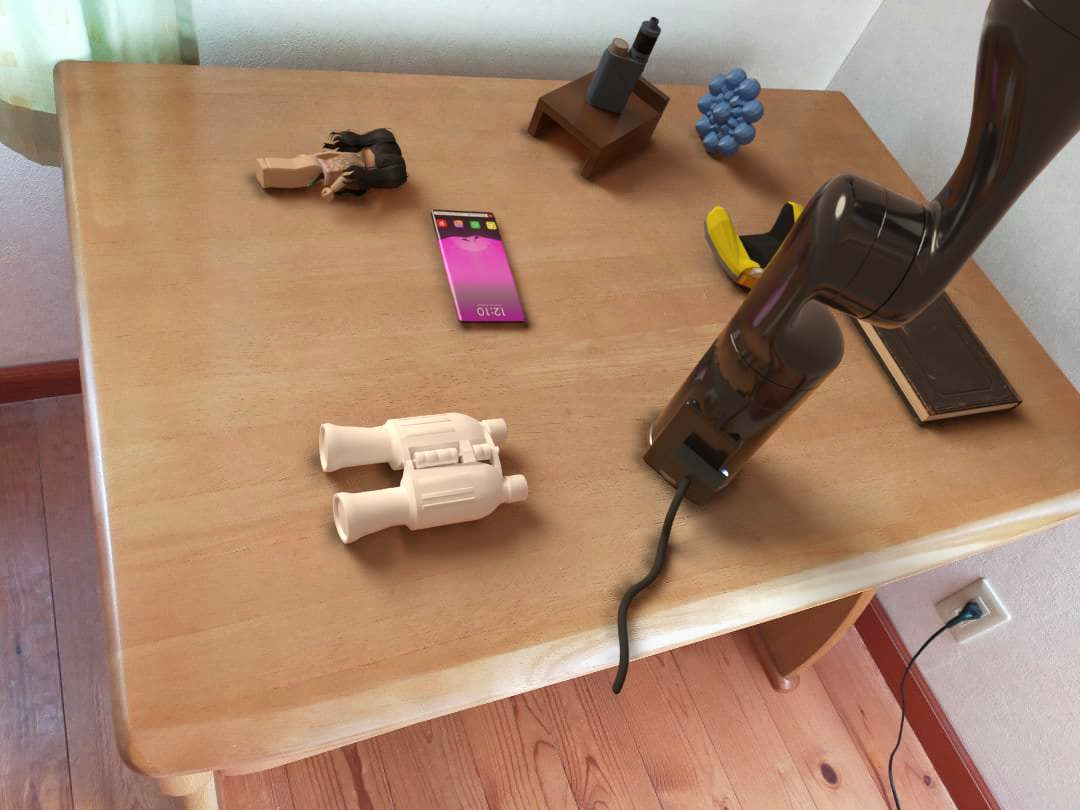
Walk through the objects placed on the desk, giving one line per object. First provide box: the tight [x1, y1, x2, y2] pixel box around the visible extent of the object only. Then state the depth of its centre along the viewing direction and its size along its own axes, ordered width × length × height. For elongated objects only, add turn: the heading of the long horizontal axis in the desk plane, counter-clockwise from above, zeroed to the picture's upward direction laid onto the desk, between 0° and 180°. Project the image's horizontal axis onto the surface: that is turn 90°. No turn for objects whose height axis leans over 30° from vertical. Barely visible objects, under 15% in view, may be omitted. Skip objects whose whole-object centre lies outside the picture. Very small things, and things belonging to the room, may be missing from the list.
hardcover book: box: [849, 289, 1024, 426], centre depth 108 cm, size 16×23×2 cm
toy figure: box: [255, 127, 410, 202], centre depth 90 cm, size 7×6×15 cm
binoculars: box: [318, 412, 529, 545], centre depth 73 cm, size 10×16×5 cm, turn 110°
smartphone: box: [430, 209, 527, 324], centre depth 91 cm, size 7×15×1 cm, turn 16°
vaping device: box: [587, 16, 662, 114], centre depth 103 cm, size 3×5×12 cm, turn 90°
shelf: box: [526, 69, 671, 181], centre depth 109 cm, size 14×10×7 cm
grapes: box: [694, 67, 765, 158], centre depth 114 cm, size 12×7×12 cm, turn 20°
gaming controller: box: [703, 201, 804, 290], centre depth 105 cm, size 15×6×10 cm
